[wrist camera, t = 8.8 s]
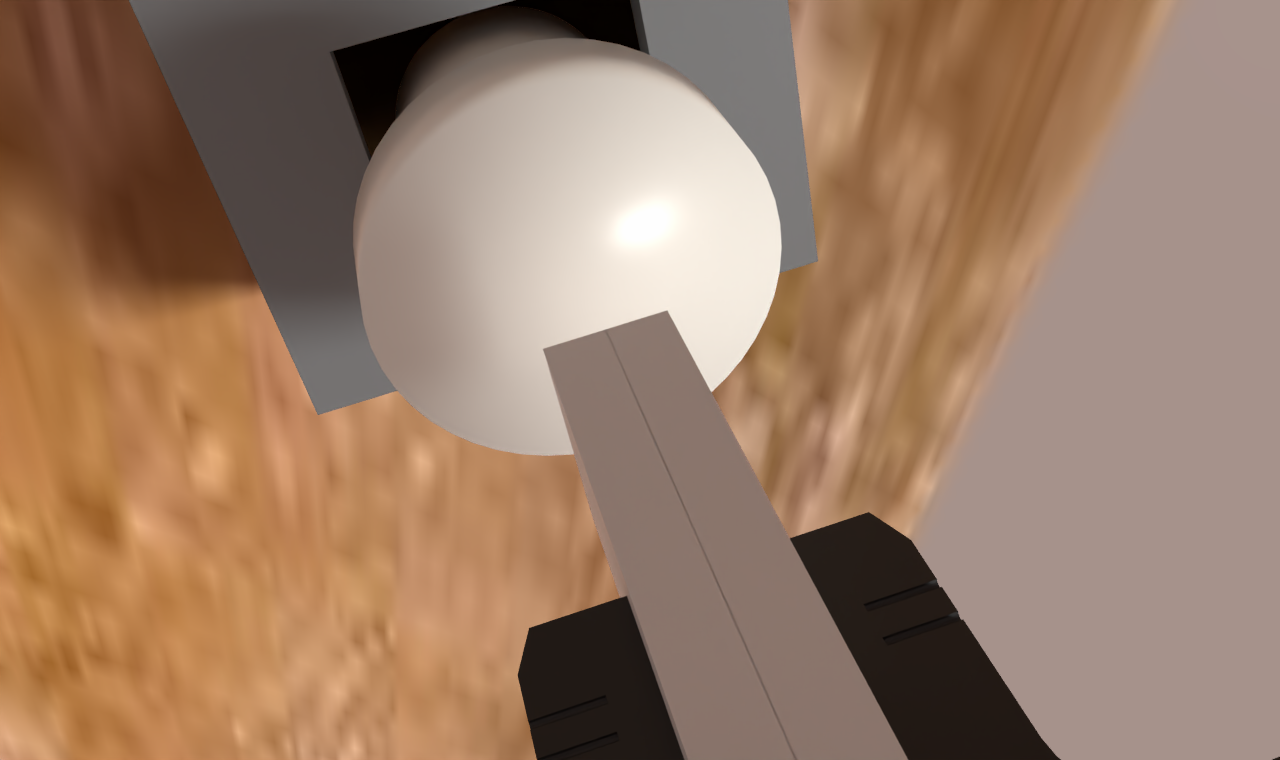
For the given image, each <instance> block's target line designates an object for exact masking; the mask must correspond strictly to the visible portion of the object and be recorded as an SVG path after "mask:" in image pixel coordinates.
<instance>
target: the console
mask: <svg viewBox="0 0 1280 760" xmlns="http://www.w3.org/2000/svg"><path fill="white" fill-rule="evenodd" d="M510 1H514V0H129V2H130V4H131V6H132V8H133V11H134V13H135V15H136V17H137V19H138V22H139V24H140V26H141V28H142V30H143V33H144V35H145V37H146V39H147V41H148V44H149V46H150V48H151V50H152V52H153V55H154V57H155V59H156V61H157V63H158V65H159V68H160V70H161V72H162V74H163V76H164V79H165V81H166V83H167V85H168V87H169V90H170V92H171V94H172V96H173V98H174V101H175V103H176V105H177V107H178V109H179V111H180V114H181V116H182V118H183V120H184V122H185V125H186V127H187V129H188V131H189V133H190V136H191V138H192V140H193V142H194V144H195V147H196V149H197V151H198V153H199V155H200V158H201V160H202V162H203V164H204V166H205V168H206V171H207V173H208V175H209V177H210V179H211V182H212V184H213V186H214V188H215V190H216V193H217V195H218V197H219V199H220V201H221V204H222V206H223V208H224V210H225V212H226V214H227V217H228V219H229V221H230V223H231V225H232V228H233V230H234V232H235V234H236V236H237V239H238V241H239V243H240V245H241V247H242V250H243V252H244V254H245V256H246V258H247V260H248V263H249V265H250V267H251V269H252V271H253V274H254V276H255V278H256V280H257V282H258V285H259V287H260V289H261V291H262V293H263V296H264V298H265V300H266V302H267V304H268V307H269V309H270V311H271V313H272V315H273V317H274V320H275V322H276V324H277V326H278V328H279V331H280V333H281V335H282V337H283V339H284V342H285V344H286V346H287V348H288V350H289V353H290V355H291V357H292V359H293V361H294V363H295V366H296V368H297V370H298V372H299V374H300V377H301V379H302V381H303V383H304V385H305V388H306V390H307V392H308V394H309V396H310V399H311V401H312V403H313V405H314V407H315V410H316V412H317V414H318V415H320V414H323V413H326V412H329V411H333V410H336V409H339V408H342V407H346V406H349V405H352V404H355V403H359V402H362V401H365V400H368V399H372V398H375V397H378V396H381V395H385V394H388V393H391V392H394V391H397V390H396V389H395V387H394V386H393V384H392V383H391V382H390V380H389V379H388V377H387V376H386V374H385V373H384V372H383V370H382V369H381V367H380V365H379V363H378V361H377V359H376V357H375V355H374V352H373V350H372V348H371V346H370V343H369V339H368V336H367V333H366V330H365V327H364V323H363V317H362V310H361V303H360V296H359V289H358V281H357V273H356V265H355V257H354V249H353V221H354V214H355V207H356V201H357V196H358V193H359V189H360V186H361V183H362V179H363V176H364V173H365V171H366V169H367V166H368V164H369V162H370V160H371V155H370V152H369V149H368V147H367V144H366V141H365V138H364V136H363V133H362V130H361V127H360V124H359V122H358V119H357V116H356V113H355V111H354V108H353V105H352V102H351V99H350V97H349V94H348V91H347V88H346V86H345V83H344V80H343V77H342V74H341V72H340V69H339V66H338V63H337V61H336V58H335V55H334V52H333V51H335V50H339V49H342V48H346V47H349V46H353V45H356V44H360V43H364V42H367V41H371V40H374V39H378V38H381V37H385V36H389V35H392V34H396V33H399V32H403V31H406V30H410V29H414V28H417V27H421V26H424V25H428V24H431V23H435V22H439V21H442V20H446V19H449V18H453V17H456V16H460V15H464V14H467V13H471V12H474V11H478V10H481V9H485V8H489V7H492V6H496V5H499V4H503V3H506V2H510ZM630 2H631V7H632V12H633V17H634V22H635V27H636V32H637V37H638V42H639V47H640V51H641V52H644V53H646V54H648V55H650V56H652V57H654V58H656V59H658V60H660V61H662V62H664V63H666V64H668V65H669V66H671V67H672V68H674V69H675V70H677V71H678V72H680V73H681V74H682V75H684V76H685V77H687V78H688V79H689V80H690V81H691V82H693V83H694V84H695V85H696V86H697V87H698V88H699V89H700V90H701V91H702V92H703V93H704V94H705V95H706V96H707V97H708V98H709V99H710V101H711V102H712V103H713V104H714V106H715V107H716V108H717V109H718V111H719V112H720V113H721V114H722V116H723V117H724V118H725V119H726V121H727V122H728V123H729V124H730V126H731V127H732V128H733V129H734V131H735V132H736V133H737V134H738V136H739V137H740V138H741V139H742V141H743V142H744V143H745V144H746V146H747V147H748V148H749V149H750V151H751V152H752V153H753V155H754V156H755V157H756V159H757V161H758V163H759V165H760V166H761V168H762V170H763V172H764V173H765V175H766V177H767V179H768V182H769V185H770V187H771V190H772V193H773V195H774V198H775V201H776V206H777V211H778V216H779V220H780V229H781V245H782V248H781V261H780V272H779V273H781V272H784V271H787V270H791V269H794V268H797V267H800V266H804V265H807V264H810V263H813V262H817V261H818V257H817V248H816V240H815V231H814V223H813V214H812V205H811V197H810V188H809V180H808V171H807V162H806V154H805V145H804V136H803V128H802V119H801V111H800V102H799V93H798V85H797V76H796V67H795V59H794V50H793V42H792V33H791V24H790V16H789V7H788V0H630Z"/></svg>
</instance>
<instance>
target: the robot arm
mask: <svg viewBox="0 0 1280 760" xmlns="http://www.w3.org/2000/svg"><path fill="white" fill-rule="evenodd" d="M543 351H544V354H545V357H546V361H547V364H548V368H549V371H550V374H551V378H552V381H553V385H554V388H555V391H556V395H557V398H558V401H559V405H560V408H561V412H562V415H563V418H564V422H565V425H566V428H567V432H568V435H569V439H570V442H571V445H572V449H573V452H574V456H575V459H576V462H577V466H578V469H579V472H580V476H581V479H582V483H583V486H584V489H585V493H586V496H587V499H588V503H589V506H590V510H591V513H592V516H593V520H594V523H595V525H596V528H597V531H598V534H599V537H600V540H601V543H602V546H603V549H604V552H605V555H606V558H607V560H608V563H609V566H610V569H611V572H612V575H613V578H614V581H615V584H616V587H617V590H618V592H619V595H620V598H618V599H615V600H612V601H609V602H606V603H603V604H600V605H597V606H594V607H591V608H588V609H585V610H582V611H579V612H576V613H573V614H570V615H567V616H564V617H561V618H558V619H555V620H552V621H549V622H546V623H543V624H540V625H537V626H534V627H531V628H529V631H528V635H527V639H526V643H525V647H524V651H523V656H522V660H521V664H520V668H519V672H518V679H519V683H520V687H521V692H522V696H523V700H524V705H525V709H526V714H527V718H528V722H529V725H530V729H531V730H530V731H531V736H532V740H533V744H534V749H535V753H536V757H537V760H1061V759H1059V758H1058V757H1057V756H1056V755H1055V754H1054V753H1053V751H1052V750H1051V749H1050V748H1049V747H1048V746H1047V744H1046V743H1045V742H1044V741H1043V740H1042V739H1041V737H1040V736H1039V734H1038V733H1037V731H1036V730H1035V728H1034V726H1033V725H1032V723H1031V722H1030V720H1029V719H1028V717H1027V716H1026V714H1025V713H1024V711H1023V710H1022V708H1021V707H1020V705H1019V704H1018V702H1017V701H1016V699H1015V698H1014V696H1013V695H1012V693H1011V691H1010V690H1009V688H1008V687H1007V685H1006V684H1005V682H1004V681H1003V679H1002V678H1001V676H1000V675H999V673H998V672H997V670H996V669H995V667H994V666H993V664H992V663H991V661H990V660H989V658H988V656H987V655H986V653H985V652H984V651H983V649H982V648H981V646H980V644H979V643H978V641H977V640H976V638H975V637H974V635H973V634H972V632H971V631H970V629H969V628H968V626H967V625H966V623H965V622H964V620H961V619H960V617H959V614H958V611H957V609H956V608H955V606H954V605H953V603H952V602H951V600H950V599H949V597H948V596H947V594H946V593H945V591H944V590H943V588H942V587H939V585H938V583H937V579H936V577H935V576H934V574H933V573H932V571H931V570H930V568H929V567H928V565H927V564H926V562H925V561H924V559H923V558H922V556H921V555H920V553H919V552H918V550H917V549H916V547H915V545H914V544H913V542H912V541H911V540H910V539H909V538H907V537H906V536H904V535H903V534H901V533H900V532H898V531H897V530H895V529H894V528H892V527H890V526H889V525H887V524H886V523H884V522H883V521H881V520H880V519H878V518H877V517H875V516H874V515H872V514H871V513H869V512H868V513H865V514H862V515H859V516H856V517H853V518H850V519H847V520H844V521H841V522H838V523H835V524H832V525H829V526H826V527H823V528H820V529H817V530H814V531H811V532H808V533H805V534H802V535H799V536H796V537H793V538H789V536H788V535H787V533H786V531H785V529H784V527H783V525H782V523H781V521H780V520H779V518H778V516H777V514H776V512H775V510H774V508H773V507H772V505H771V503H770V501H769V499H768V497H767V495H766V493H765V492H764V490H763V488H762V486H761V484H760V482H759V480H758V479H757V477H756V475H755V473H754V471H753V469H752V467H751V465H750V464H749V462H748V460H747V458H746V456H745V454H744V452H743V451H742V449H741V447H740V445H739V443H738V441H737V439H736V437H735V436H734V434H733V432H732V430H731V428H730V426H729V424H728V423H727V421H726V419H725V417H724V415H723V413H722V411H721V409H720V408H719V406H718V404H717V402H716V400H715V398H714V396H713V395H712V393H711V391H710V389H709V387H708V385H707V383H706V381H705V380H704V378H703V376H702V374H701V372H700V370H699V368H698V367H697V365H696V363H695V361H694V359H693V357H692V355H691V353H690V352H689V350H688V348H687V346H686V344H685V342H684V340H683V339H682V337H681V335H680V333H679V331H678V329H677V327H676V325H675V324H674V322H673V320H672V318H671V316H670V314H669V312H668V310H667V311H663V312H660V313H657V314H654V315H650V316H647V317H644V318H641V319H638V320H634V321H631V322H628V323H625V324H621V325H618V326H615V327H612V328H608V329H605V330H602V331H599V332H596V333H592V334H589V335H586V336H583V337H579V338H576V339H573V340H570V341H567V342H563V343H560V344H557V345H554V346H550V347H547V348H544V349H543ZM1273 760H1280V757H1278V758H1275V759H1273Z"/></svg>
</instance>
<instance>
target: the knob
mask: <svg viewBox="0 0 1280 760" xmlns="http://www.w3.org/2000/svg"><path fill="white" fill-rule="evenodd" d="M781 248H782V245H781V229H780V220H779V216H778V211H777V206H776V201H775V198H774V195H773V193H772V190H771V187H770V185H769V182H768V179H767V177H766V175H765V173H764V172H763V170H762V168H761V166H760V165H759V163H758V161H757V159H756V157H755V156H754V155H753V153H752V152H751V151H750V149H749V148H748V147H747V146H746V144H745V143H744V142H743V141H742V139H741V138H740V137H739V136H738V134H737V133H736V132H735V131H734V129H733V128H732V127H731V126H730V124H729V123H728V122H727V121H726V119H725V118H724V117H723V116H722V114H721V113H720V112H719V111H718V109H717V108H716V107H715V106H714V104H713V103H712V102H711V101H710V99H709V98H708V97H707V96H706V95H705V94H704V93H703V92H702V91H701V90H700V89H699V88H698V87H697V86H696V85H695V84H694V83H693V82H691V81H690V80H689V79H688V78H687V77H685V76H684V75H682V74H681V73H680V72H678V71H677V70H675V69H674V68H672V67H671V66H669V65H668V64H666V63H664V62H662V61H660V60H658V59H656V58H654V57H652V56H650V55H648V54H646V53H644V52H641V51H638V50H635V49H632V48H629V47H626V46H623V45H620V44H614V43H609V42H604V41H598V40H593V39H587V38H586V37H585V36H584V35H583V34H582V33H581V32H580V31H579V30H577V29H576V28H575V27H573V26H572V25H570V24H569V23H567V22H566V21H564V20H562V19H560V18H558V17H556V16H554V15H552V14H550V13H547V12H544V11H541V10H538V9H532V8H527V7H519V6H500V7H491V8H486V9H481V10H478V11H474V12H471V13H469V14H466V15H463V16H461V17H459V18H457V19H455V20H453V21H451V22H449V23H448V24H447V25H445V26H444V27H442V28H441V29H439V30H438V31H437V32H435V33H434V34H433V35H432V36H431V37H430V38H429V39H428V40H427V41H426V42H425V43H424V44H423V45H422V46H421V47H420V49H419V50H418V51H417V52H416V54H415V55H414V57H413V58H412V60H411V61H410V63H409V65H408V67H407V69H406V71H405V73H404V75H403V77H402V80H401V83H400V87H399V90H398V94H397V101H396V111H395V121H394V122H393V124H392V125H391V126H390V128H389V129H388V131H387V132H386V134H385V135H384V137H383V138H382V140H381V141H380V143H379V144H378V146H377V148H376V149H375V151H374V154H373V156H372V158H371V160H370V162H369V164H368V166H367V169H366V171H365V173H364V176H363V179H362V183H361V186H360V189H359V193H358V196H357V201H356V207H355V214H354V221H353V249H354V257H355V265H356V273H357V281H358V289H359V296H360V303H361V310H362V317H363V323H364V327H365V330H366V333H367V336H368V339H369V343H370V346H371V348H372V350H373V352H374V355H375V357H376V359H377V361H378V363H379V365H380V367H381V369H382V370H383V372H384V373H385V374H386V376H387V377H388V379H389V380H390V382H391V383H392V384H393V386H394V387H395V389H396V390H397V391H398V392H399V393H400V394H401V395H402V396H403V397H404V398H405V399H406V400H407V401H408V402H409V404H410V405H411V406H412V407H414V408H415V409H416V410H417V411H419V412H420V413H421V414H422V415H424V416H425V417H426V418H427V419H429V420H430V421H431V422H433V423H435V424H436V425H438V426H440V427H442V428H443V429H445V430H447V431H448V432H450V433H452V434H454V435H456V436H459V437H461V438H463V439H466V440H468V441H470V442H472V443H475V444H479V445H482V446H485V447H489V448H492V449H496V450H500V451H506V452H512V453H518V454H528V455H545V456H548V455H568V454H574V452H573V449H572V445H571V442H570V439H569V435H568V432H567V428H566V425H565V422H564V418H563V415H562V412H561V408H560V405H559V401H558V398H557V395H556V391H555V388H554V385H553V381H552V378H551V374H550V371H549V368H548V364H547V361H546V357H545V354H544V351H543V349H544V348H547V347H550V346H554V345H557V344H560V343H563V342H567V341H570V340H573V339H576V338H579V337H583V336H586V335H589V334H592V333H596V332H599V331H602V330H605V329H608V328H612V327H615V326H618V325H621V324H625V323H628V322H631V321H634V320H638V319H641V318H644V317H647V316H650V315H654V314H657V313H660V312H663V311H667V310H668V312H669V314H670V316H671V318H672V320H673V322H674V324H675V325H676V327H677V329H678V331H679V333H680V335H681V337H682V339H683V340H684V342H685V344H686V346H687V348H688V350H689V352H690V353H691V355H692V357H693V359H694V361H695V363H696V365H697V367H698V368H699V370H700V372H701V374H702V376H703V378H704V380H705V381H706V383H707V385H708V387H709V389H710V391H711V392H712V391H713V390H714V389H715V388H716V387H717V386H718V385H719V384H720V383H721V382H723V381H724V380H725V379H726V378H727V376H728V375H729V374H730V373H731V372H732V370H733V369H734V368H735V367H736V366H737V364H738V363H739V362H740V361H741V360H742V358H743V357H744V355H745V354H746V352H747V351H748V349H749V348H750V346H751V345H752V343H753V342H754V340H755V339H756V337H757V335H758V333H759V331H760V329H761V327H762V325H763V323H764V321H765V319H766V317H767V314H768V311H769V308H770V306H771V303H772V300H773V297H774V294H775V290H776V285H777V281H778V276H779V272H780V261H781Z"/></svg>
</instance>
